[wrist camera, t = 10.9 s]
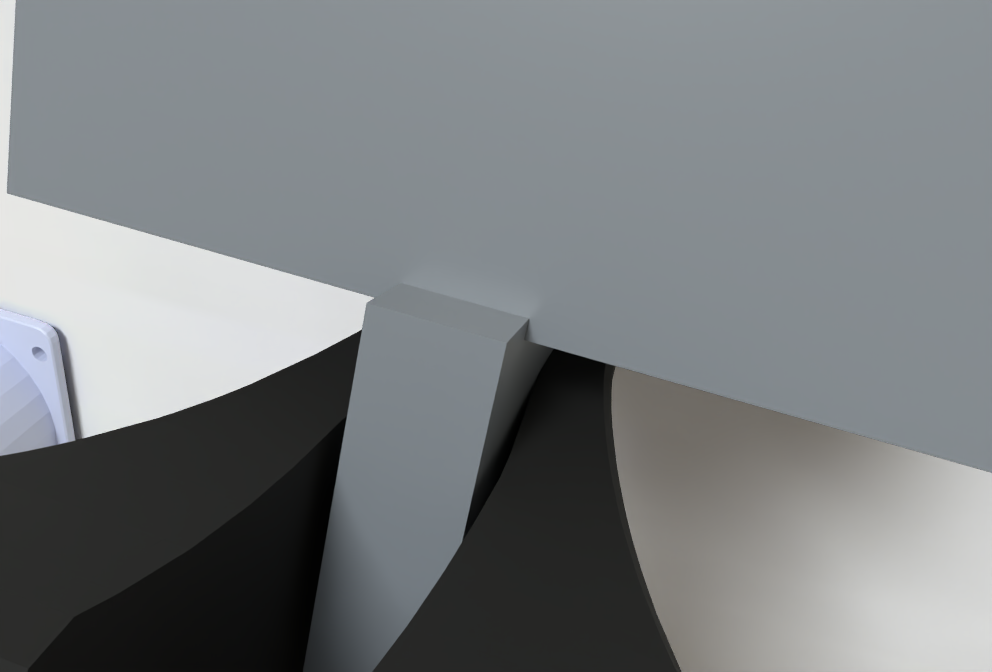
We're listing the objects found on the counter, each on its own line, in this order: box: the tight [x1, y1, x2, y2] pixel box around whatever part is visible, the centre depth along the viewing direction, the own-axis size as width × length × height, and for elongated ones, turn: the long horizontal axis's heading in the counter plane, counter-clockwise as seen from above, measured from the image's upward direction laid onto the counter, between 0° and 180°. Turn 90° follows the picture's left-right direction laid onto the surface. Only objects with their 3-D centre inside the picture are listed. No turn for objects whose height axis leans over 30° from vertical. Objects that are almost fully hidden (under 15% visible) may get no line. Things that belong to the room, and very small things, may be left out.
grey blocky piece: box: [7, 0, 992, 672], centre depth 11 cm, size 14×9×8 cm, turn 172°
